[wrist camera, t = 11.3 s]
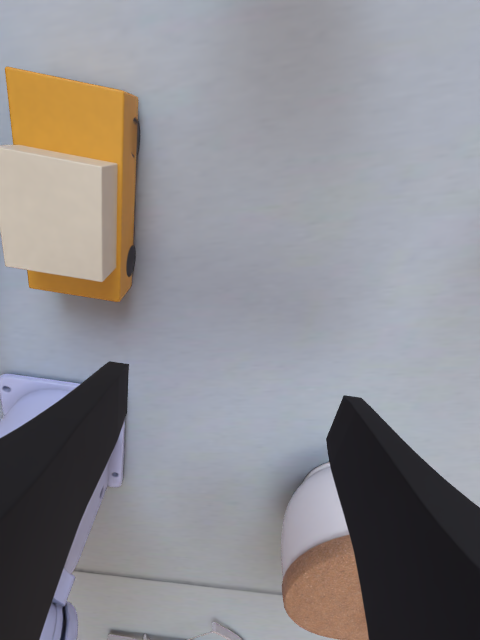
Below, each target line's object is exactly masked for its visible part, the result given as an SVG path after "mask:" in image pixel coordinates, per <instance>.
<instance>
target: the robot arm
mask: <svg viewBox="0 0 480 640" xmlns="http://www.w3.org/2000/svg"><path fill="white" fill-rule="evenodd" d="M128 370H129V364H124V363H117V362H108V363H107V364H105V365H104V366H103V367H101V368H100V369H99V370H98V371H96V372H95V373H94V374H93V375H92V376H90V377H89V378H88V379H87V380H85V381H84V382H83V383H81V384H80V383H73V382H65V381H58V380H51V379H44V378H37V377H29V376H22V375H15V374H3V375H1V376H0V396H1V402H2V407H3V413H4V417H3V419H2V420H1V421H0V640H77V635H78V617H77V612H76V609H75V607H74V606H73V605H72V604H71V603H70V602H67V599H68V596H69V593H70V591H71V588H72V585H73V583H74V580H75V576H74V575H72V572H73V570H74V569H75V567H76V565H77V563H78V561H79V559H80V556H81V554H82V551H83V548H84V546H85V543H86V541H87V538H88V535H89V533H90V530H91V528H92V525H93V522H94V520H95V517H96V514H97V512H98V509H99V507H100V504H101V501H102V499H103V496H104V494H105V491H106V488H107V486H108V487H119V486H121V484H122V481H123V461H124V431H125V417H126V414H127V397H128ZM7 386H8V387H9V388H8V387H7ZM326 441H327V448H328V456H329V462H330V468H331V472H332V475H333V479H334V482H335V486H336V490H337V493H338V497H339V500H340V503H341V507H342V510H343V514H344V517H345V521H346V524H347V528H348V531H349V535H350V538H351V542H352V546H353V550H354V555H355V560H356V566H357V571H358V576H359V582H360V587H361V593H362V599H363V605H364V611H365V617H366V623H367V630H368V637H369V640H480V508H479V507H478V506H477V505H475V504H474V503H473V502H472V501H470V500H469V499H468V498H467V497H465V496H464V495H463V494H462V493H461V492H459V491H458V490H457V489H456V488H454V487H453V486H452V485H451V484H450V483H448V482H447V481H446V480H445V479H444V478H443V477H442V476H440V475H439V474H438V473H437V472H436V471H435V470H434V469H433V468H432V467H430V466H429V465H428V464H427V463H426V462H425V461H424V460H423V459H422V458H421V457H420V456H419V455H418V454H417V453H416V452H415V451H413V450H412V449H411V448H410V447H409V446H408V445H407V444H406V443H405V442H404V441H403V440H402V439H401V438H400V437H399V436H398V435H397V434H396V433H395V431H394V430H393V429H392V428H391V427H390V426H389V425H388V424H387V423H386V422H385V421H384V420H383V419H382V418H381V417H380V416H379V415H378V414H377V413H376V412H375V411H374V410H373V409H372V408H371V407H370V406H369V405H368V404H367V403H366V402H365V401H364V400H363V399H362V398H358V397H351V396H345V395H344V396H343V399H342V401H341V404H340V406H339V409H338V411H337V414H336V416H335V419H334V421H333V424H332V426H331V428H330V431H329V433H328V436H327V438H326Z"/></svg>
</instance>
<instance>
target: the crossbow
mask: <svg viewBox="0 0 480 640" xmlns="http://www.w3.org/2000/svg"><path fill="white" fill-rule="evenodd" d="M212 632H213V633H216V634H218V635H220V636H222V637H224V638H226V639H228V640H242V639H241V638H240V637H239V636H238V635H236V634H235V633H233V632H232V631H230V630H229V629H227V628H225V627H223V626H221V625H219V624H217V623H216V622H212V631H211V632H208V633H205V634H202V635H199V636H196V637H193V638H190V639H187V640H191V639H194V638H197V637H200V636H203V635H206V634H209V633H212ZM107 640H136V639H134V638H130V637H124V636H118V635H112V634H108V638H107ZM143 640H146V634H144V636H143ZM149 640H150V639H149Z"/></svg>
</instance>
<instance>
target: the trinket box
mask: <svg viewBox="0 0 480 640" xmlns="http://www.w3.org/2000/svg"><path fill="white" fill-rule="evenodd" d="M281 561H282V573H283V583H282V593H283V602H284V608H285V610H286V612H287V614H288V615H289V617H290V618H291V619H292V620H293V621H294V622H295V623H296V624H298V625H299V626H300V627H302V628H304V629H305V630H307V631H310V632H312V633H315V634H317V635H321V636H325V637H329V638H334V639H340V640H369V637H368V630H367V623H366V617H365V611H364V605H363V599H362V593H361V587H360V582H359V576H358V571H357V566H356V560H355V555H354V550H353V546H352V542H351V538H350V535H349V531H348V528H347V524H346V521H345V517H344V514H343V510H342V507H341V503H340V500H339V497H338V493H337V490H336V486H335V482H334V479H333V475H332V472H331V468H330V462H328V463H325V464H323V465H321V466H318V467H317V468H315V469H314V470H312V471H311V472H310V473H309V474H308V475H307V476H306V478H305V479H304V481H303V483H302V484H301V485H300V486H299V487H298V489H297V490H296V491H295V493H294V494H293V496H292V498H291V500H290V502H289V504H288V506H287V509H286V512H285V516H284V520H283V528H282V536H281Z"/></svg>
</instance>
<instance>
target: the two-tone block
mask: <svg viewBox="0 0 480 640" xmlns="http://www.w3.org/2000/svg"><path fill="white" fill-rule="evenodd" d="M5 73H6V82H7V91H8V100H9V109H10V119H11V128H12V137H13V145H0V232H1V239H2V246H3V253H4V260H5V266H6V267H12V268H18V269H24V270H27V272H28V281H29V287H30V288H33V289H39V290H45V291H52V292H58V293H64V294H71V295H77V296H83V297H90V298H96V299H102V300H109V301H115V302H120V301H121V299H122V298H123V297H124V295H125V294H126V293H127V291H128V290H129V289H130V287H131V286H132V272H133V269H134V264H135V247H134V245H133V233H134V206H135V178H136V156H137V153H138V149H139V143H140V127H139V121H138V97H136V96H134V95H132V94H129V93H127V92H125V91H122V90H118V89H113V88H108V87H103V86H98V85H93V84H89V83H84V82H79V81H74V80H69V79H65V78H60V77H55V76H50V75H45V74H40V73H36V72H31V71H26V70H21V69H16V68H11V67H5Z"/></svg>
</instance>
